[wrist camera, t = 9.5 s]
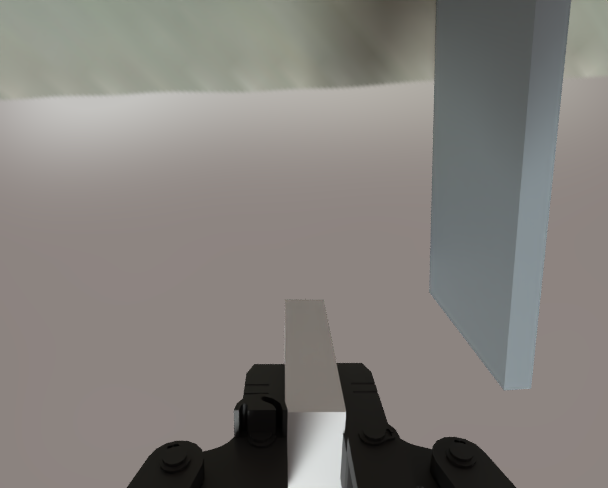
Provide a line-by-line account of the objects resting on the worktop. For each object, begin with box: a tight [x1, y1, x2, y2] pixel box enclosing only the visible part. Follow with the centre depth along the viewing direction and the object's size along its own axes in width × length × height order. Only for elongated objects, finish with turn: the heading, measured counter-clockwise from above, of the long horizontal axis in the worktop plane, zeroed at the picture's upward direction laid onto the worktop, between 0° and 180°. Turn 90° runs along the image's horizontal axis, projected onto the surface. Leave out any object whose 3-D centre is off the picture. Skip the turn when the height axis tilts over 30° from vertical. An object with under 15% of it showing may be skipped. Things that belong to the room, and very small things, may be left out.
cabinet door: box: [429, 0, 571, 390], centre depth 22 cm, size 20×3×11 cm, turn 3°
